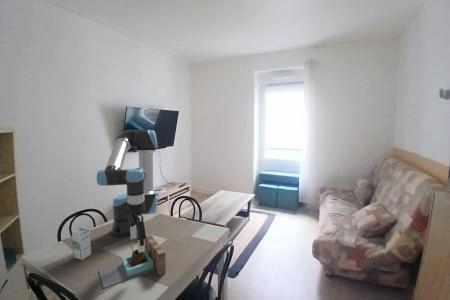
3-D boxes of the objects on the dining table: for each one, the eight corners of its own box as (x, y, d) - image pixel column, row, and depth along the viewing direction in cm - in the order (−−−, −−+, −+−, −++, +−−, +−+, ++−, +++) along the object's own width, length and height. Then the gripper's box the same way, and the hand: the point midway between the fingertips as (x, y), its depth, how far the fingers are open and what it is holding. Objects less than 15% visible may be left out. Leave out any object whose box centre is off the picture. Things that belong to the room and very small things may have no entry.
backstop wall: (143, 251, 123) (143, 233, 122) (149, 249, 125) (148, 232, 124) (159, 275, 104) (158, 254, 103) (165, 272, 106) (165, 252, 104)
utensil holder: (142, 269, 107) (142, 245, 106) (129, 269, 107) (128, 245, 105) (146, 261, 113) (145, 238, 112) (133, 262, 113) (132, 239, 111)
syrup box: (91, 254, 119) (90, 227, 118) (81, 260, 114) (79, 233, 112) (83, 252, 121) (82, 226, 120) (73, 258, 116) (71, 231, 114)
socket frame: (121, 263, 111) (121, 258, 111) (146, 256, 118) (145, 250, 117) (127, 277, 102) (127, 270, 101) (153, 267, 108) (153, 261, 108)
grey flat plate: (98, 270, 106) (98, 270, 106) (146, 255, 119) (146, 254, 119) (103, 288, 95) (103, 287, 95) (155, 269, 108) (155, 268, 108)
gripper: (121, 196, 114) (123, 235, 117) (134, 213, 94) (136, 260, 97) (136, 193, 118) (138, 231, 121) (152, 209, 98) (153, 254, 101)
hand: (137, 244), depth 109 cm, fingers open, 13 cm apart
